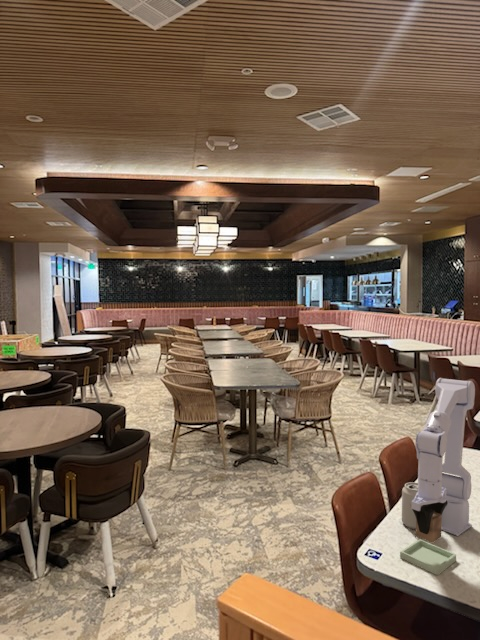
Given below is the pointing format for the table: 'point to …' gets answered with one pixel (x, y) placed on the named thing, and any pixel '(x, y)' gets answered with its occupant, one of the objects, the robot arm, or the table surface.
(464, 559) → the table surface
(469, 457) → the table surface
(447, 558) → the tray
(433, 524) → the block
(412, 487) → the can
